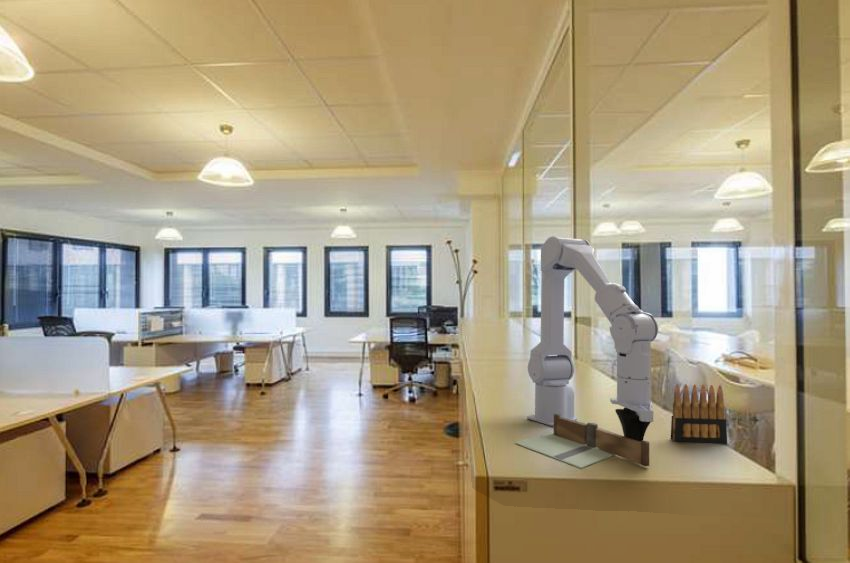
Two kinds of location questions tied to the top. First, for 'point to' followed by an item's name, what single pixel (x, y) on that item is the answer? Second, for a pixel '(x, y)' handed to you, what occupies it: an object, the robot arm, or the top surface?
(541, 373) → the robot arm
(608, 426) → the top surface
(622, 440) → the fence gate
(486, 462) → the top surface
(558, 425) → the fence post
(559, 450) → the card
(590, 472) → the top surface
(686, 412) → the ammunition clip
